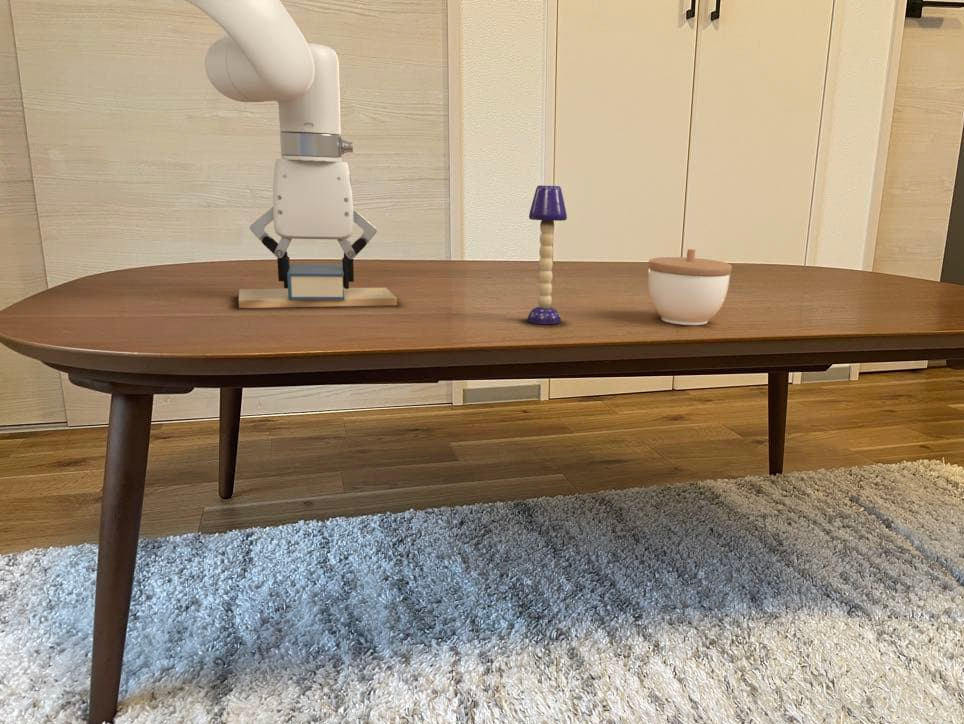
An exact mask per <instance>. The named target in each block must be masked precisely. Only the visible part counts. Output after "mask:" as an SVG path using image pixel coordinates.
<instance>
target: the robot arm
mask: <svg viewBox="0 0 964 724" xmlns="http://www.w3.org/2000/svg"><path fill="white" fill-rule="evenodd" d="M185 2H188V3H190V4H191V5H193V6H194V7H196V8H197V9H199V10H200V11H202V12H203V13H204V14H206V15H207V16H209V18H210V19H212V20H213V21H214V22H215V23H216V24H217V25H218V26H220V27H221V29H223V30H224V32H225V33H226V34H227V35H225V36H223V37H220V38H219V39H216V41H214V42H213V43H212V44H211V45H210V47H209V48H208V50H207V52H206V54H205V60H204V68H205V73H206V76H207V79H208V80H209V82H210V84H211V85H212V86H213V88H214V89H216V91H217V92H219V93H220V94H221V95H223V96H225V97H226V98H228V99H230V100H233V101H236V102H241V103H263V102H276V103H277V105H278V120H279V121H278V122H279V138H280V139H279V140H280V154H281V155H280V158H275V162H274V168H273V169H274V170H273V186H272V207H271V208H270V209H268V210H267V211H266V212H265V213H264V214H262V215H260V217H258V219H256V220H255V221H254V222H252V224H250V226H249V230H250V231H251V232H252V233H253V234H254V236H256V238H257V239H258V240H259V241H260V242H261V243H262V245H264V246H265V248H267V249H268V251H270V252H271V253H272V254H273V255H274V256H275V257H276V258H277V260H276V261H277V275H278V277H277V278H278V282H283V289H288V279H287V273H288V270H289V268H290V265H291V263H290V256H289V255H288V251H287V250H288V248H289V246H290V244H291V242H292V240H293V239H296V240H297V239H298V240H337V242H338V243H339V245H340V247H341V249H342V252H343V257H341V260H342V263H341V264H343V272H344V276H342V285H343V288H345V289H349V288H350V283H354V282H355V271H354V268H355V267H354V259H355V258H356V256H357V255H358V254H359V253H361V251H363V249H365V247H366V246H367V245H368V244H369V242H370V241H371V240H372V239H373V238H374V237H375V235H376V234H377V228H376V226H374V225H373V224H372V223H371V222H370V221H368V220H367V219H366V218H365V217H364V216H362V214H360V213H359V212H358V211H356V209H355V208H354V199H353V187H352V179H351V173H350V167H349V164H348V162H347V161H343V158H342V155H343V156H344V154H348V153H353V151H354V146H353V145H354V144H353V141H347V140H345V139H344V138H342V126H341V125H342V124H341V90H340V86H341V85H340V63H339V57H338V55H337V52H336V51H335V50H334V49H333V48H332V47H329V46H327V45H323V44H320V43H319V44H318V43H311V42H307V39H306V38H305V37H304V35H303V33H302V31H301V29H299V26H298V25H297V23H296V22H295V20H294V19H293V17H292V16H291V15H290V13H289V11H288V10H287V9H286V7H285V5H283V3H282V1H281V0H185ZM271 222H273V228H274V231H275V234H276V235H277V236H279V237H281V238H280V240H279V242H277V241H276V239H274V238H273V237H272V236H271V235H269V233H268V232H267V231H266V229H265V228H266V226H268V225H269V224H270V223H271ZM355 224H356V225H357V226H358V227H359V228H361V229H362V230H363V232H362V233H361V235H360V236H359V237H358V238H357V239H356V240H355V241H354V242H353V243H351V242H350V240H349V238H351V236H353V234H354V227H355Z"/></svg>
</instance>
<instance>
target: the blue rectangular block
mask: <svg viewBox="0 0 964 724" xmlns="http://www.w3.org/2000/svg"><path fill="white" fill-rule="evenodd" d="M343 276H344V272H343V263H307V262H306V263H305V262H304V263H302V262H301V263H300V262H299V263H298V262H296V263H294V262H291V263H290V268H289V270H288V273H287V279H288V299H289V300H345V298H344V288H343Z"/></svg>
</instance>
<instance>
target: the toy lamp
mask: <svg viewBox="0 0 964 724" xmlns="http://www.w3.org/2000/svg"><path fill="white" fill-rule="evenodd" d="M534 191H535V192H534V195H533V199H532V202H531V206H530V211H529V214H528V218H529V220H531V221H540V225H539V230H540V236H539V243H540V246H539V249H538V250H539V257H540V258H539V261H538V269H539V272H538V281H539V285H538V294H539V297H538V301H537V303H538V306H536V307H534V308H532V309H531V310H530V312H529V313H528V316H527V322H528V323H530V324H534V325H556V324H560V323H561V322H562V320H561V316H560V313H559V312H558V310H557V309H556V308H554V307H552V305H553V299H552V298H553V297H552V293H553V284H552V282H553V278H554V277H553V275H554V274H553V272H552V270H553V265H554V263H553V262H554V261H553V255H554V247H553V244H554V233H553V232H554V230H555V221H556V222H558V221H563V222H564V221H567V218H568V215H567V209H566V205H565V200H564V195H563V190H562V187H561V186H559V185H537V186H536V188H535V190H534Z"/></svg>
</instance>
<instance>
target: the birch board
mask: <svg viewBox="0 0 964 724" xmlns="http://www.w3.org/2000/svg"><path fill="white" fill-rule="evenodd" d="M344 298H345V300H289V299H288V289H284V288H239V290H238V308H239V309H262V308H263V309H264V308H265V309H266V308H267V309H268V308H270V309H271V308H320V307H321V308H325V307H326V308H327V307H328V308H329V307H333V308H334V307H382V306H383V307H384V306H385V307H387V306H389V307H390V306H398V298H397V297H396V295H394V293H393V292H392V291H390V289H389V288H387V287H349V289H345V288H344Z"/></svg>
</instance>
